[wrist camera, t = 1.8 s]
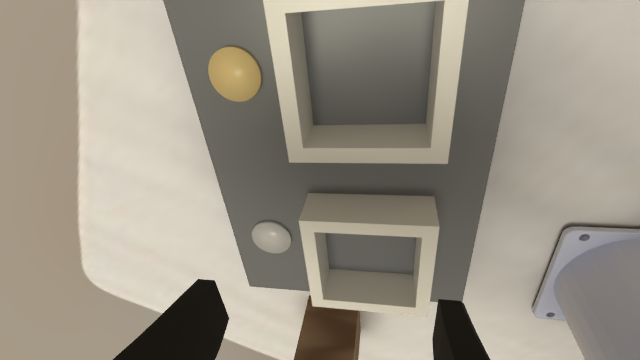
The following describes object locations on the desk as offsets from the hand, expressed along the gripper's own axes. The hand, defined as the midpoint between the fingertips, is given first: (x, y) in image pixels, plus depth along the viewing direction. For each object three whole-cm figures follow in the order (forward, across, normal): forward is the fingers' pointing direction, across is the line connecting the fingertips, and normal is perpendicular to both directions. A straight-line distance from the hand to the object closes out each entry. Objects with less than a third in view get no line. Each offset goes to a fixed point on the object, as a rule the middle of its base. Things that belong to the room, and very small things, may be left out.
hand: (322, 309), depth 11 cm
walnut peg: (+10, +2, +15) cm, 18 cm away
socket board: (+10, 0, 0) cm, 10 cm away
